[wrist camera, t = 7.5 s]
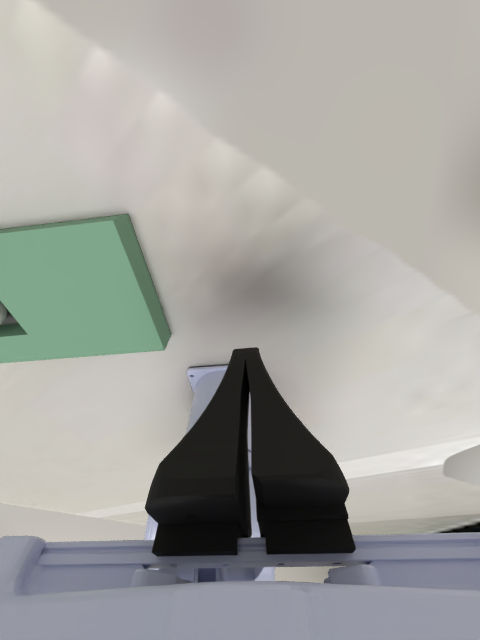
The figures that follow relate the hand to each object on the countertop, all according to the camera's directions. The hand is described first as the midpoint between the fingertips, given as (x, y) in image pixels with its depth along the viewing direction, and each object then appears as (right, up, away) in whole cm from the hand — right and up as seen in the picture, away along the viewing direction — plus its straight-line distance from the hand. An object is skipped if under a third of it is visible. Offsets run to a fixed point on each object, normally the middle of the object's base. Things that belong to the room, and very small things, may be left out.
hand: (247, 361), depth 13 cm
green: (-18, +5, +9) cm, 21 cm away
